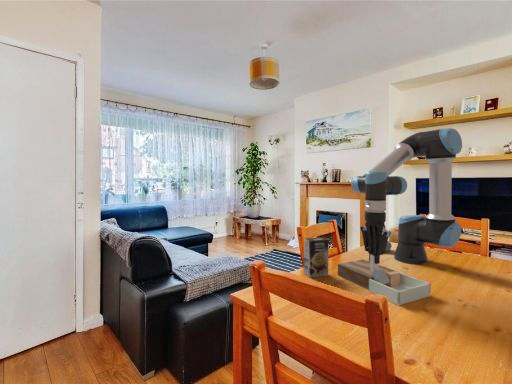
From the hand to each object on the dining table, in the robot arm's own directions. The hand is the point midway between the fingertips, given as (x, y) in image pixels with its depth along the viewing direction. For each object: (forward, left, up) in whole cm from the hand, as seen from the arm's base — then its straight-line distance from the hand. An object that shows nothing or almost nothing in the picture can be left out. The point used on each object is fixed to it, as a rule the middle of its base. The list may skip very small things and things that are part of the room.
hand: (374, 270), depth 107 cm
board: (-4, -7, -7) cm, 10 cm away
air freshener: (-46, -36, -7) cm, 59 cm away
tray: (-4, +8, -7) cm, 11 cm away
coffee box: (+12, -21, -7) cm, 25 cm away
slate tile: (0, +2, -2) cm, 3 cm away
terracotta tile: (-7, +2, -3) cm, 8 cm away
